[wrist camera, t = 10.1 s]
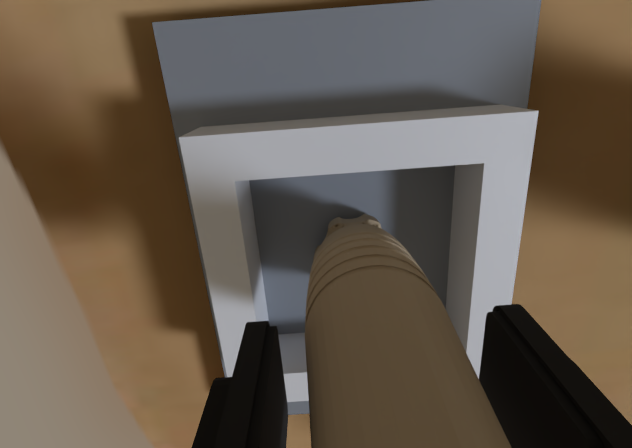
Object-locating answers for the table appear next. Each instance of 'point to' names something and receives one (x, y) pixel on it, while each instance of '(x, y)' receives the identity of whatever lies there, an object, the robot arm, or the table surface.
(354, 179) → the socket board
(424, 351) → the handle
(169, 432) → the table surface
